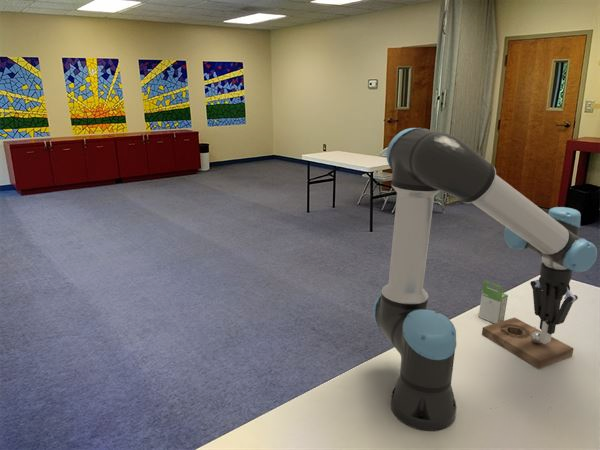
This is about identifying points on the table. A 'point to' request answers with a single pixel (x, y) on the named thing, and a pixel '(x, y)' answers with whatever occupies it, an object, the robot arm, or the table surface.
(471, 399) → the table surface
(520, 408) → the table surface
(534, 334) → the ball
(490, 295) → the ink box
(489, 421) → the table surface
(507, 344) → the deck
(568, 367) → the table surface
